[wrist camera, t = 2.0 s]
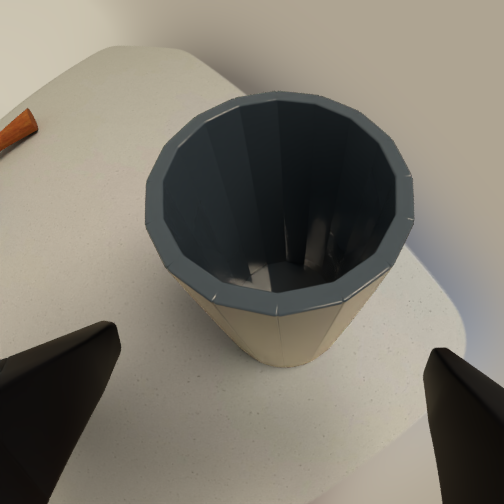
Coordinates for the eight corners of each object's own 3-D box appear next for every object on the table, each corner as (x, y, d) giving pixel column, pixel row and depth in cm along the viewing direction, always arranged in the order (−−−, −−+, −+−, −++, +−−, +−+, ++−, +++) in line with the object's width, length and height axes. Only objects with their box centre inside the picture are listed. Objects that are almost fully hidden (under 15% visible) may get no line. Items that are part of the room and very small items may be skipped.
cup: (300, 389, 17) (325, 379, 6) (207, 325, 20) (97, 214, 8) (361, 295, 19) (443, 152, 8) (271, 241, 22) (248, 71, 10)
